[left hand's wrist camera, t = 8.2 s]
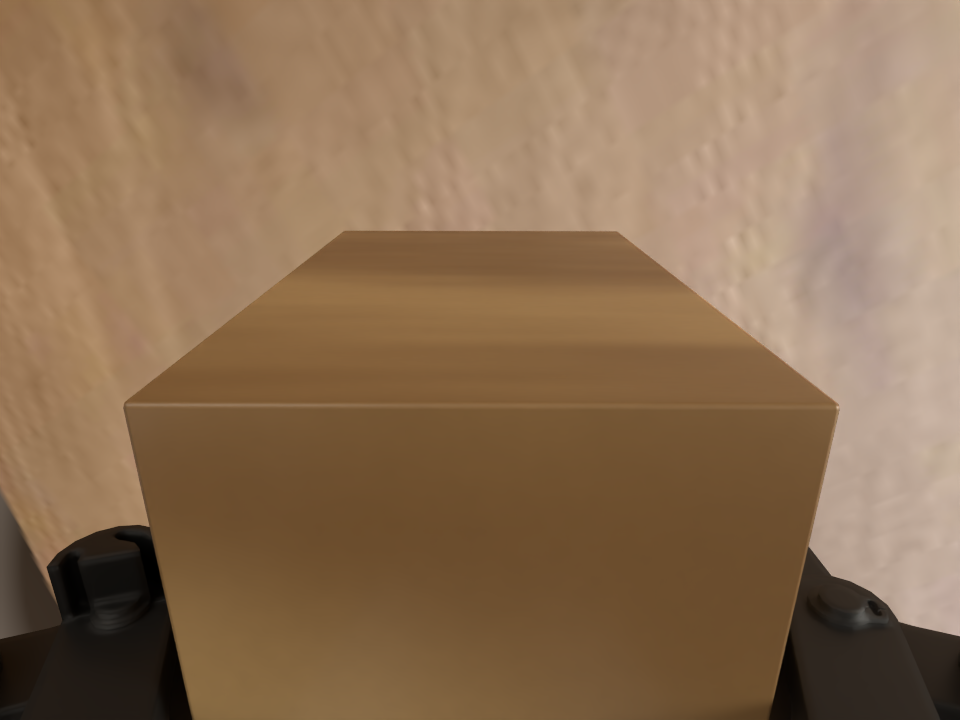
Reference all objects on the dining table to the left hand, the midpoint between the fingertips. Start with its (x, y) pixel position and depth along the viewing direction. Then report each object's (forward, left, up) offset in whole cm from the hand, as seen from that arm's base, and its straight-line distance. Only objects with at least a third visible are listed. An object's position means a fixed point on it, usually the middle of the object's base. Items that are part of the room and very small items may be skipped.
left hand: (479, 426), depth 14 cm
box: (+9, 0, 0) cm, 9 cm away
